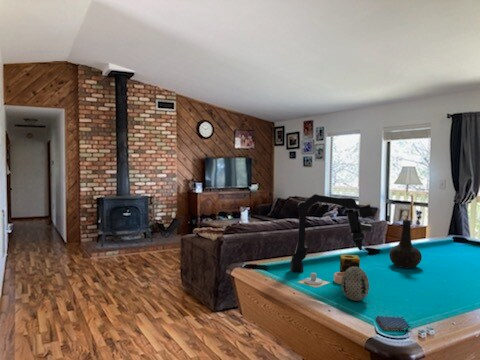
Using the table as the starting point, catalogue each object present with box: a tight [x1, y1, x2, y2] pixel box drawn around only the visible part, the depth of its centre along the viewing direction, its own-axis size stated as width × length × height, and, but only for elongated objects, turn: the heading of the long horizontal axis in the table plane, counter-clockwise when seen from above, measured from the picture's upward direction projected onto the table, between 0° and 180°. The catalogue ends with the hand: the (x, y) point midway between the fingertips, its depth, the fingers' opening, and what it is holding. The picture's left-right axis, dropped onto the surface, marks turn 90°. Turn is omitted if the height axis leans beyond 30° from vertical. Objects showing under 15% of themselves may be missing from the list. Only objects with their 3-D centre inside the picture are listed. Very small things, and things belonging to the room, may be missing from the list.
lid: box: [303, 272, 324, 285], centre depth 190 cm, size 9×9×4 cm
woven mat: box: [375, 315, 412, 331], centre depth 142 cm, size 10×11×2 cm
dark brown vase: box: [389, 219, 423, 269], centre depth 227 cm, size 18×18×28 cm
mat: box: [297, 276, 331, 289], centre depth 191 cm, size 12×12×1 cm
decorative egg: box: [341, 266, 370, 302], centre depth 168 cm, size 12×12×15 cm
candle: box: [339, 254, 361, 272], centre depth 208 cm, size 10×10×10 cm
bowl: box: [333, 271, 345, 285], centre depth 192 cm, size 9×9×4 cm
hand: (359, 248), depth 205 cm, fingers open, 9 cm apart
